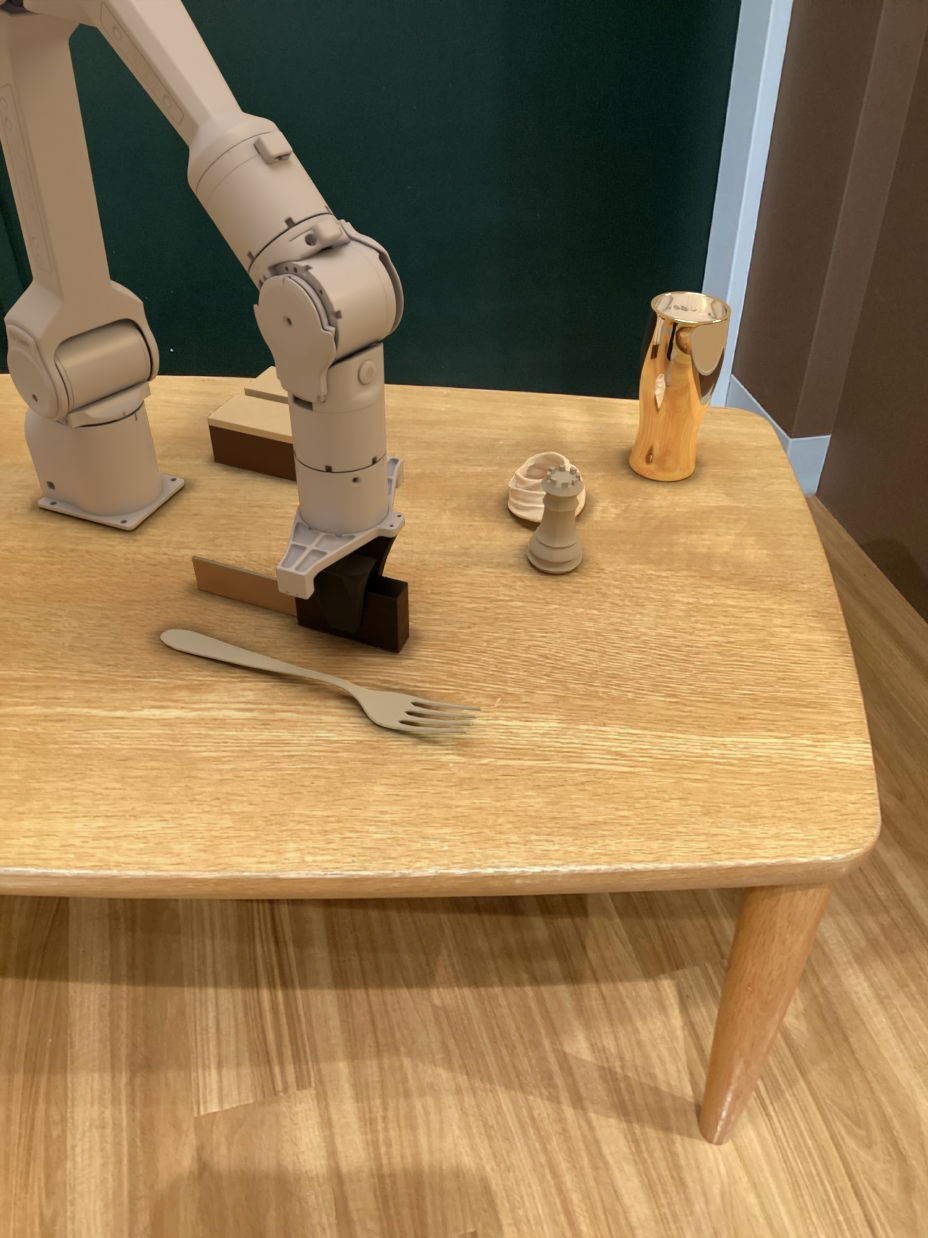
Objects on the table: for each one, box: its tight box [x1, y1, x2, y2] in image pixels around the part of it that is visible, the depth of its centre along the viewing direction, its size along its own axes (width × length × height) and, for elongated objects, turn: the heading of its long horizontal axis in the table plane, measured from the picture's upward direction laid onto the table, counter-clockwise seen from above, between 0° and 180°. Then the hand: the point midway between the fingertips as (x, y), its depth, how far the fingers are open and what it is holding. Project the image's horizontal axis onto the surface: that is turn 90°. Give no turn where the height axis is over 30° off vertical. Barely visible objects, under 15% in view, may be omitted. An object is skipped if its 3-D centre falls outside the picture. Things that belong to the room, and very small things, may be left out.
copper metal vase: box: [628, 290, 732, 482], centre depth 81 cm, size 7×7×15 cm
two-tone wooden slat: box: [191, 555, 410, 654], centre depth 66 cm, size 17×2×5 cm, turn 69°
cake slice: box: [243, 365, 289, 405], centre depth 88 cm, size 10×5×4 cm, turn 69°
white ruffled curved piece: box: [507, 451, 587, 523], centre depth 78 cm, size 8×7×5 cm
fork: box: [159, 628, 483, 735], centre depth 62 cm, size 3×24×2 cm, turn 67°
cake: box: [206, 393, 297, 482], centre depth 83 cm, size 10×5×4 cm, turn 69°
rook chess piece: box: [526, 465, 585, 575], centre depth 71 cm, size 4×4×8 cm
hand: (352, 616), depth 66 cm, fingers closed on two-tone wooden slat, 2 cm apart
